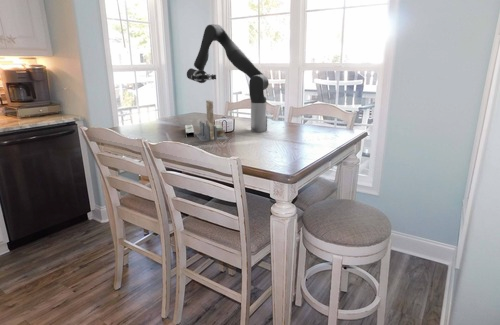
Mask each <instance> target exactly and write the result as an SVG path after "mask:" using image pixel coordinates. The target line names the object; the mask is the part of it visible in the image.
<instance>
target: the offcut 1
mask: <svg viewBox="0 0 500 325" xmlns="http://www.w3.org/2000/svg"><path fill="white" fill-rule="evenodd" d="M214 125H215V126H216V129H217V131H220V130H224V127H223V126H222V125H220V123H219V124H214Z"/></svg>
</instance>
